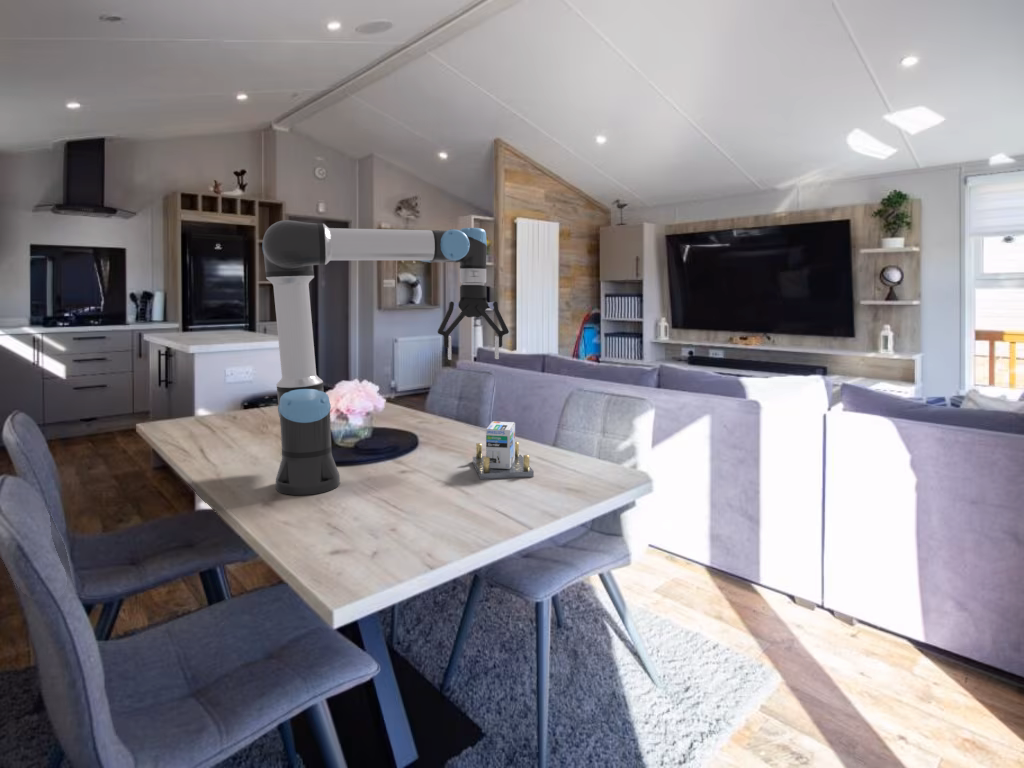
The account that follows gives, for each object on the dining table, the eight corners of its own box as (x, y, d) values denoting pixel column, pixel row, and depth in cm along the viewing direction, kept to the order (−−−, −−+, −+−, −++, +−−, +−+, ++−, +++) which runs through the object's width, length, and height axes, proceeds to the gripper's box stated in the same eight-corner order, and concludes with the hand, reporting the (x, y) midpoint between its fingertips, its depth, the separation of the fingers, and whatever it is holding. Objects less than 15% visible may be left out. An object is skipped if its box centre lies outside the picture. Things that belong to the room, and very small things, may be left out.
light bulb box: (510, 469, 167) (510, 429, 166) (485, 468, 168) (485, 429, 167) (515, 459, 178) (515, 421, 176) (491, 458, 179) (491, 420, 177)
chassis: (480, 479, 164) (480, 458, 163) (472, 461, 180) (472, 442, 179) (533, 476, 166) (533, 456, 166) (520, 459, 183) (520, 441, 182)
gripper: (429, 283, 173) (430, 360, 176) (518, 284, 178) (518, 359, 181) (428, 284, 181) (429, 357, 184) (514, 284, 185) (513, 356, 188)
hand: (473, 359), depth 182 cm, fingers open, 13 cm apart
